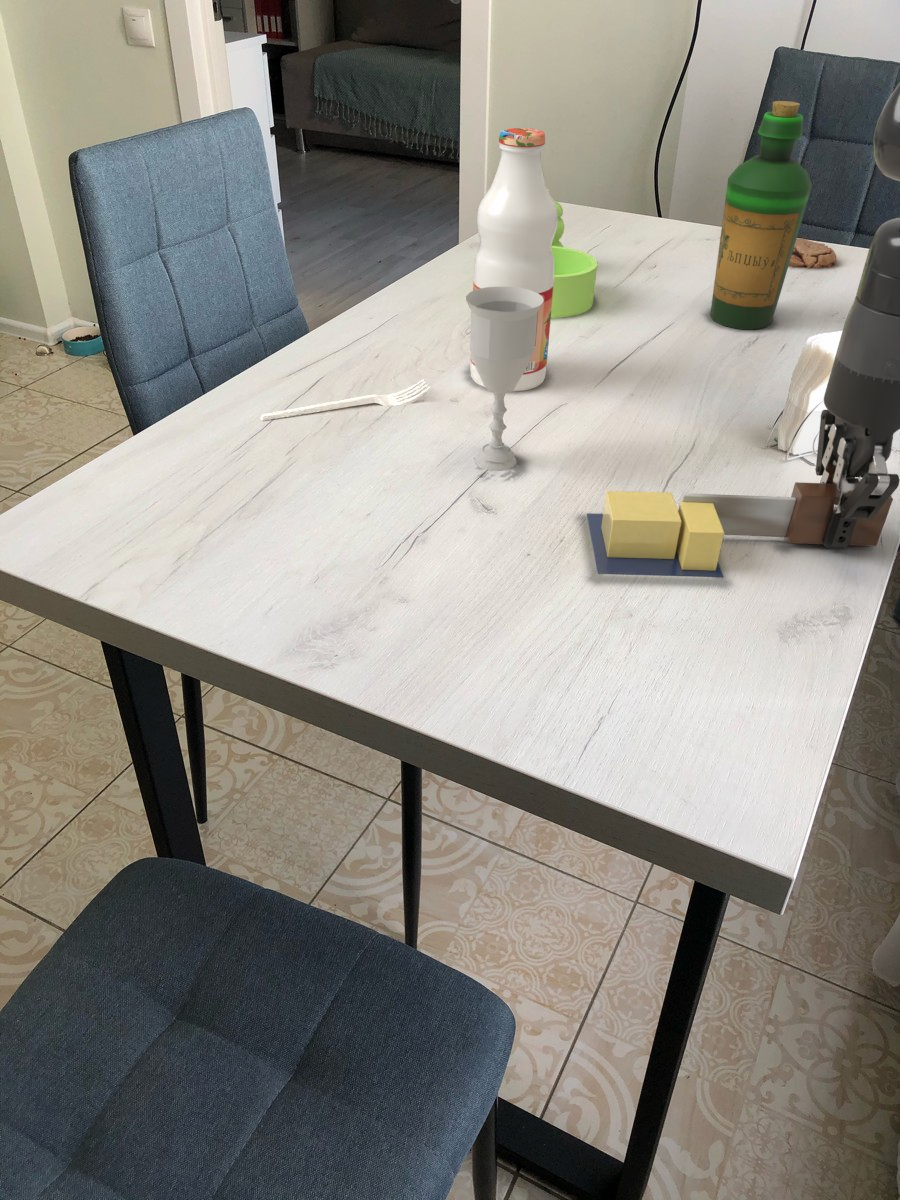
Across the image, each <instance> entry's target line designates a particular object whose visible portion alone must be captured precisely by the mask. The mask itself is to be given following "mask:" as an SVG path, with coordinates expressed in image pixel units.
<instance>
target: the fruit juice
mask: <svg viewBox="0 0 900 1200" xmlns="http://www.w3.org/2000/svg"><path fill="white" fill-rule="evenodd" d="M498 144H499V145H498V147H499V149H500V153H501V154H500V158H499V163H498V166H497V169H496V173H495V175H494V177H493V180H492V182H491V185H490V187H489V189H488V190H487V192H486V193H485V195H484V197H483V198H482V199H481V201H480V203H479V205H478V207H477V213H476V227H477V233H478V237H479V247H478V249H477V252H476V254H475V258H474V263H473V273H472V274H473V276H472V285H473V286H472V291H474V290H477V289H482V288H486V287H517V288H523V289H527V290H531V291H534V292H536V293H538V294H539V295H541V296H542V297H543V300H544V301H543V303H542V305H541V306H540V308H539V310H538V311H537V319H536V332H535V345H534V352H533V354H532V357H531V359H530V361H529V363H528V366H527V368H526V370H525V371H524V373H523V375H522V376H521V378H520V380H519V381H518V383H517V385H516V386H515V388H514V389H513V390H512V391H511V392H524V391H529V390H532V389H535V388H537V387H539V386H540V385H542V384H543V382H544V380H545V378H546V374H547V365H548V354H549V353H548V352H549V341H550V331H551V320H552V318H551V308H552V297H553V286H554V272H555V263H554V256H553V253H552V249H551V246H552V241H553V238H554V235H555V233H556V229H557V224H558V212H557V208H556V205H555V203H554V201H553V199H554V198H553V197H552V196H551V194H550V191H549V192H548V190H549V189H548V187H547V184H546V180H545V179H546V178H545V176H544V175H545V174H544V170H543V163H542V152H543V151H544V149H545V144H546V134H545V132H544V131H542V130H540V129H536V128H530V127H509V128H504V129H501V130H500V132H499V136H498ZM547 189H548V190H547ZM469 369H470V376H471V379H472V380H473V381H474V382H475V383H476V384H478V385H479V386H481V387H484V388H485V386H484V384H483V382H482V380H481V378H480V375H479V373H478V371H477V369H476V367H475V364H474V360H473V357H472V354H471V353H470V365H469Z"/></svg>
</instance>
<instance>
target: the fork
mask: <svg viewBox="0 0 900 1200" xmlns="http://www.w3.org/2000/svg"><path fill="white" fill-rule="evenodd" d="M430 389H431V386H429V384H428V383H427V381H425V379H421V380H420V381H418V382H417V383H415V384H413V385H411V386H409V387H407V388H405V389H403V390H400V391H397V392H393V393H390V394H375V393H374V394H368V395H362V396H356V397H351V398H344V399H340V400H333V401H328V402H323V403H317V404H312V405H311V404H310V405H306V406H301V407H296V408H290V409H284V410H278V411H274V412H268V413H263V414H261V415H260V421H262V422H265V421H269V420H276V419H277V420H278V419H283V418H289V417H294V416H301V415H308V414H312V413H319V412H325V411H331V410H337V409H344V408H351V407H355V406H362V405H368V404H378V405H380V406H383V407H396V406H403V405H411V404H412V403H413V402H415V401H417V400H419V399H420V398H421V397H422V396H423V395H424V394H426V393H427V392H428V391H429V390H430Z"/></svg>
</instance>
